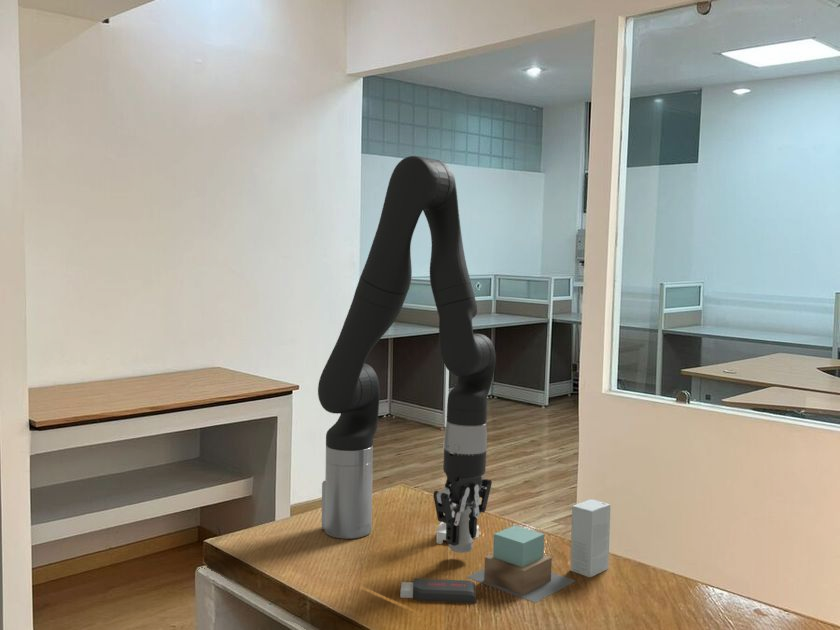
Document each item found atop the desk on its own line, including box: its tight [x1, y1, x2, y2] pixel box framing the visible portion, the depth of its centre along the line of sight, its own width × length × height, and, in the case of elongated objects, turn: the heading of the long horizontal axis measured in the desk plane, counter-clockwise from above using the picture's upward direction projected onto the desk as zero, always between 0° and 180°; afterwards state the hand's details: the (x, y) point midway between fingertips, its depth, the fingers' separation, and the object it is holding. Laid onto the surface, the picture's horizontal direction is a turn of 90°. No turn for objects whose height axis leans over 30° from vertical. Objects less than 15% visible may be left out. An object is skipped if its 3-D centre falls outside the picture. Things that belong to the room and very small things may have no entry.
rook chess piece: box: [448, 503, 474, 554], centre depth 139 cm, size 4×4×8 cm
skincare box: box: [570, 498, 611, 578], centre depth 136 cm, size 6×4×12 cm
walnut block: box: [483, 553, 553, 595], centre depth 131 cm, size 8×8×4 cm
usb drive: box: [400, 577, 477, 604], centre depth 125 cm, size 5×12×3 cm, turn 88°
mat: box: [466, 568, 576, 604], centre depth 132 cm, size 14×12×1 cm
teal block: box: [492, 525, 545, 567], centre depth 130 cm, size 6×6×4 cm
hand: (461, 540), depth 139 cm, fingers closed on rook chess piece, 4 cm apart
